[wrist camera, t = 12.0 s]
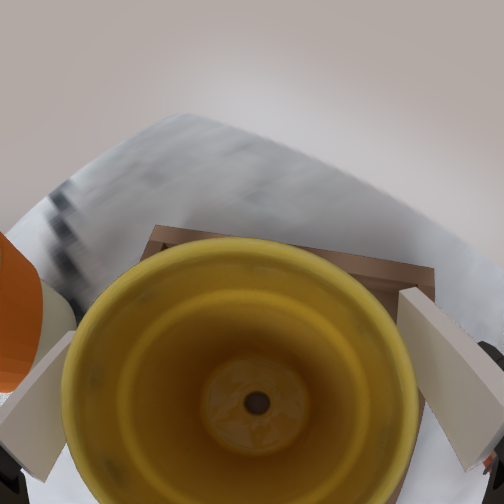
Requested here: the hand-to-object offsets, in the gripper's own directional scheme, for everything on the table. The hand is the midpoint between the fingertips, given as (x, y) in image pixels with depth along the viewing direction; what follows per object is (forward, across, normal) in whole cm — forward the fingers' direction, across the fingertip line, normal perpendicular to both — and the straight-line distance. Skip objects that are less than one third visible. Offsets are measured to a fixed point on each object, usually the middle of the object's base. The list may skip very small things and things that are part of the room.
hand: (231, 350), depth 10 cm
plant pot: (+3, 0, -6) cm, 7 cm away
